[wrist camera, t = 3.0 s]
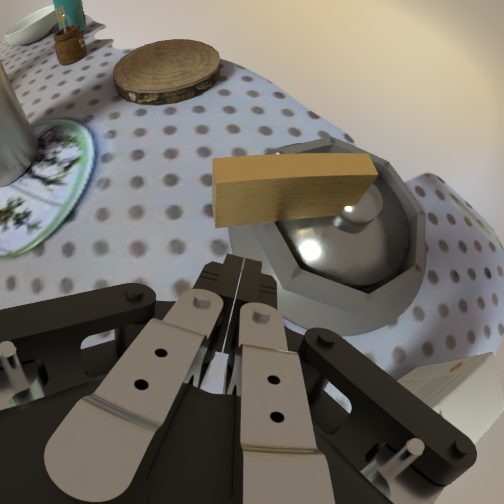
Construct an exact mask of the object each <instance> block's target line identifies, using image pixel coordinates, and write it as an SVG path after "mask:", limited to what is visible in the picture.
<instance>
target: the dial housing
mask: <svg viewBox="0 0 504 504" xmlns="http://www.w3.org/2000/svg"><path fill="white" fill-rule="evenodd" d="M300 153H360V154H369V156H370V158H371V160H372V162H373V164H374V166H375V168H376V171H377V173H378V176H379V177H380V178H381V179H383V180H384V181H385V182H386V183H387V185H388V186H389V187H390V188H391V189H392V190H393V192H394V193H395V195H396V196H397V198H398V199H399V201H400V203H401V205H402V207H403V209H404V212H405V215H406V218H407V222H408V229H409V241H408V248H407V251H406V254H405V256H404V259H403V261H402V262H401V264H400V265H399V267H398V268H397V269H396V270H395V271H394V272H393V273H392V274H390V275H389V276H387V277H386V278H385V279H383V280H381V281H380V282H378V283H377V284H375V285H373V286H371V287H368V288H365V289H361V290H356V289H353V288H351V287H348V286H345V285H342V284H340V283H337V282H334V281H332V280H329V279H326V278H323V277H321V276H318V275H315V274H313V273H310V272H307V271H305V270H302V269H300V268H299V266H298V264H297V262H296V260H295V259H294V257H293V255H292V253H291V251H290V249H289V248H288V246H287V244H286V242H285V240H284V239H283V237H282V235H281V233H280V231H279V230H278V228H277V226H276V224H275V223H274V222H265V223H256V224H247V225H238V226H230V227H229V237H230V243H231V247H232V251H233V255H236V256H240V257H244V260H243V264H242V268H241V272H242V270H243V266H244V262H245V258H248V259H253V260H257V261H261V262H262V270H261V273H263V274H267V275H271V276H273V278H274V279H275V280H276V282H277V311H279V312H280V314H281V315H282V317H283V318H285V319H287V320H288V321H290V322H292V323H294V324H295V325H298V326H300V327H302V328H305V329H307V330H308V329H310V328H315V327H319V328H325V329H328V330H331V331H333V332H335V333H337V334H338V335H339V336H353V335H359V334H364V333H368V332H371V331H374V330H376V329H379V328H381V327H384V326H385V325H387V324H389V323H391V322H392V321H394V320H395V319H396V318H398V317H399V316H400V315H401V314H402V313H404V311H405V310H406V309H407V308H408V307H409V306H410V304H411V303H412V301H413V300H414V298H415V297H416V295H417V293H418V291H419V289H420V286H421V284H422V280H423V277H424V273H425V266H426V245H425V213H424V211H423V210H422V208H421V207H420V205H419V204H418V202H417V201H416V199H415V198H414V196H413V195H412V193H411V192H410V190H409V189H408V188H407V186H406V185H405V183H404V182H403V181H402V179H401V178H400V176H399V175H398V174H397V172H396V171H395V170H394V168H393V167H392V166H391V164H390V163H389V162H388V161H386V160H384V159H381V158H379V157H377V156H375V155H373V154H371V153H368V152H366V151H364V150H362V149H360V148H357V147H355V146H353V145H350V144H348V143H346V142H343V141H341V140H338V139H336V138H333V137H328V138H323V139H319V140H314V141H310V142H306V143H297V144H292V145H287V146H283V147H280V148H277V149H275V150H273V151H271V152H268V153H266V154H265V155H272V154H300Z"/></svg>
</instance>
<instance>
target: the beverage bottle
mask: <svg viewBox="0 0 504 504" xmlns="http://www.w3.org/2000/svg"><path fill="white" fill-rule="evenodd" d="M53 3H54V9H55V13H56V8H57V11H58V15H59V17H60V12H59V7H60V9H61V13H62V15H63V11H62V7H61V6H63V8H64V12H65V14H66V15H67V16H66V15H65V16H66V18H65V19H64V20H65V21H64V25H65V24H66V25H65V27H67V26H70V25H74V24H77V25H79V27H80V32H81V31H82V30H84V29H85V28H86V23H85V22H86V21H85V20H86V19H85V18H84V17H85V14H84V13H83V7H82V2H81V0H53ZM55 16H56V17H57V14H56V15H55ZM67 18H69V19H67ZM70 20H71V22H70ZM57 21H58V18H57ZM69 22H70V23H69ZM57 23H58V25H59V26H58V28H59V29H60V30H61V28H62V29H63V24H62V21H61V24H59V23H60V21H58V22H57Z"/></svg>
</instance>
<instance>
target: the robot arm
mask: <svg viewBox="0 0 504 504" xmlns="http://www.w3.org/2000/svg"><path fill="white" fill-rule="evenodd" d="M38 149H39V141H38V138H37V136H36V134H35V132H34V131H33V129H32V127H31V125H30V123H29V121H28V119H27V117H26V115H25V113H24V111H23V109H22V107H21V105H20V103H19V101H18V99H17V97H16V95H15V92H14V90H13V88H12V86H11V84H10V81H9V79H8V77H7V75H6V72H5V70H4V67H3V65H2V63H1V60H0V187H2V186H6V185H8V184H10V183H12V182H13V181H15V180H16V179H17V178H19V177H20V176H21V175H22V174H23V173H24V172H25V171H26V170H27V169H28V167H29V166H30V165H31V164H32V162H33V160H34V159H35V157H36V155H37V152H38ZM243 260H244V257H240V256H236V255H231V254H227V256H226V258H225V261H224V263H223V264H221V263H217V262H213V261H212V262H210V263H208V264H206V265H205V266H204V268H203V270H202V272H201V274H200V276H199V277H198V279H197V281H196V283H195V285H194V287H193V289H190V290H187V291H185V292H183V293H182V294H181V296H180V297H179V298H178V300H177V301H171V302H170V301H156V294H155V292H154V291H153V290H152V289H151V288H150V287H148V286H146V285H143V284H138V283H126V284H121V285H116V286H112V287H107V288H102V289H97V290H93V291H88V292H83V293H78V294H74V295H69V296H64V297H59V298H55V299H50V300H45V301H40V302H35V303H31V304H26V305H21V306H16V307H11V308H7V309H2V310H0V504H434V502H435V501H436V499H437V498H438V496H439V495H440V493H441V492H442V490H443V489H444V488H445V487H447V486H448V485H449V484H451V483H452V482H453V481H454V480H456V479H457V478H458V477H459V476H461V475H462V474H463V473H464V472H465V471H467V470H468V469H469V468H470V467H471V466H472V465H473V464H474V463H475V461H476V458H477V451H476V447H475V445H474V443H473V442H472V440H471V439H470V438H469V437H468V436H467V435H465V434H464V433H463V432H461V431H460V430H459V429H457V428H456V427H455V426H454V425H452V424H451V423H450V422H448V421H447V420H446V419H445V418H443V417H442V416H441V415H439V414H438V413H437V412H436V411H434V410H433V409H432V408H430V407H429V406H428V405H427V404H425V403H424V402H423V401H421V400H420V399H419V398H418V397H416V396H415V395H414V394H413V393H411V392H410V391H409V390H407V389H406V388H405V387H404V386H402V385H401V384H400V383H399V382H397V381H396V380H395V379H394V378H392V377H391V376H390V375H388V374H387V373H386V372H385V371H383V370H382V369H381V368H380V367H378V366H377V365H376V364H375V363H373V362H372V361H371V360H370V359H368V358H367V357H366V356H365V355H363V354H362V353H361V352H359V351H358V350H357V349H356V348H354V347H353V346H352V345H351V344H349V343H348V342H347V341H346V340H344V339H343V338H342V337H341V336H339V335H338V334H337V333H335V332H333V331H331V330H328V329H325V328H319V327H315V328H310V329H308V330H307V331H306V332H305V335H301V334H299V333H297V332H294V331H292V330H290V329H288V328H287V327H285V326H284V323H283V318H282V315H281V314H280V312H279V311H277V282H276V280H275V279H274V278H273V276H271V275H267V274H263V273H261V270H262V262H261V261H257V260H253V259H248V258H245V262H244V266H243V270H242V275H241V279H240V283H239V287H238V291H237V296H236V300H235V304H234V308H233V313H232V317H231V321H230V326H229V330H228V334H227V339H226V343H225V347H224V352H223V353H226V354H229V356H228V361H227V365H226V369H225V376H224V387H223V394H212V393H209V392H206V391H204V390H202V387H203V384H204V381H205V379H206V376H207V374H208V371H209V369H210V365H211V361H212V360H213V358H214V356H215V352H216V351H217V352H222V348H223V344H224V339H225V335H226V331H227V327H228V323H229V319H230V314H231V310H232V306H233V302H234V298H235V293H236V289H237V285H238V281H239V277H240V272H241V268H242V264H243ZM112 329H114V333H115V340H112V341H108V342H105V343H102V344H98V345H95V346H91V347H88V348H85V349H81V343H82V341H83V340H84V339H85V338H86V337H88V336H91V335H95V334H98V333H102V332H105V331H109V330H112ZM328 382H330V383H332V384H333V385H334V386H335V387H336V388H337V389H338V390H339V391H340V392H341V393H343V394H344V395H345V396H346V397H347V398H348V399H349V400H350V402H351V406H352V410H351V413H350V414H349V413H348V412H347V411H346V410H345V409H344V408H343V407H341V406H340V405H339V404H338V403H337V402H336V401H335V400H334V399H333V398H332V397H331V396H330V395H329V394H327V393H326V392H325V391H324V389H325V387H326V386H327V384H328Z"/></svg>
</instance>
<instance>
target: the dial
mask: <svg viewBox="0 0 504 504" xmlns="http://www.w3.org/2000/svg"><path fill="white" fill-rule="evenodd" d="M212 208H213V215H214V222H215V228H221V227H230V226H238V225H247V224H256V223H265V222H274V223H275V224H276V226H277V228H278V230H279V231H280V233H281V235H282V237H283V239H284V240H285V242H286V244H287V246H288V248H289V249H290V251H291V253H292V255H293V257H294V259H295V260H296V262H297V264H298V266H299V268H300V269H302V270H305V271H307V272H310V273H313V274H315V275H318V276H321V277H323V278H326V279H329V280H332V281H334V282H337V283H340V284H342V285H345V286H348V287H351V288H353V289H356V290H361V289H365V288H368V287H371V286H373V285H375V284H377V283H378V282H380V281H381V280H383V279H385V278H386V277H387V276H389V275H390V274H392V273H393V272H394V271H395V270H396V269H397V268H398V267H399V265H400V264H401V262H402V261H403V259H404V256H405V254H406V251H407V248H408V241H409V229H408V222H407V218H406V215H405V212H404V209H403V207H402V205H401V203H400V201H399V199H398V198H397V196H396V195H395V193H394V192H393V190H392V189H391V188H390V187H389V186H388V185H387V183H386V182H385V181H384V180H383V179H381V178H380V177H379V176H378V173H377V171H376V168H375V166H374V164H373V162H372V160H371V158H370V156H369V154H360V153H300V154H272V155H254V156H239V157H226V158H215V159H213V168H212Z"/></svg>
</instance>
